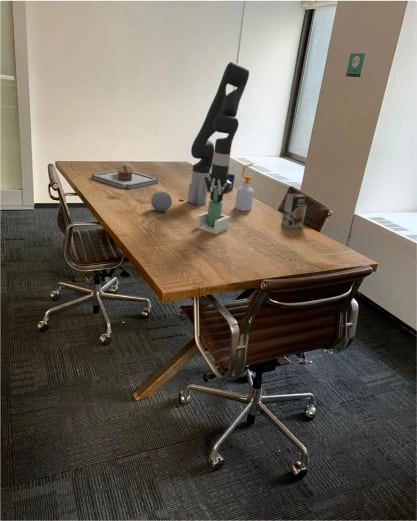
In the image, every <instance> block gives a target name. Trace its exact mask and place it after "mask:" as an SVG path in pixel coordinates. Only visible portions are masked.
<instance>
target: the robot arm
mask: <svg viewBox="0 0 417 521" xmlns="http://www.w3.org/2000/svg"><path fill="white" fill-rule="evenodd" d="M222 74H223V75H222V77H221V80H220V83H219V86H218V89H217V91H216V94H215V96H214V98H213V100H212V103H211V104H210V107H209V109H208V111H207V114H206V116H205V119H204V121H203V122H202V123H203V124H202V125H201V127H200V130H199V131H198V133H197V135H196V137H195V138H194V141H193V142H192V144H191V145H192V146H191V150H190V153H191V156H192V158H194V159H198V160H199V161H198V162H196V163H195V164H193V165H192V172H191V181H190V183H189V185H188V193H187V202H188V203H190V204H193V205H199V206H203V205H206V204H207V196H208V191H209V192H210V196H209V199H210V201H213V194H214V189H216V187H217V186H218V189H219V194H218V202H219V203H220V202H222V201H223V198H224V195H226V194H228V192H229V189H230V188H231V186H232V184H233V183H232V182H229V181H228V178H227V176H228V174H229V170H230V162H231V152H232V144H233V141H234V137H235V135H236V133H237V131H238V128H239V124H240V123H239V119H238V118H237V117H236V116H237V114H238V110H239V105H240V101H241V99H242V96H243V94H244V91H245V88H246V86H247V83H248V80H249V76H250V70H249V69H248V68H247V67H245V66H242V65H239V64H238V63H236V62H233V61H230V62H228V64H227V65H226V67H225V69H224V71H223V73H222ZM227 85H230V86H233V87H234V88H235V89H233V90H232V91H231V92H229V93H227ZM216 132H217V133H222V134H228V135H227V136H226V137H220V138H217V139H215V145H214V143H213V142H212V141H211V140H209V139H210V137H212V136H213V135H214V134H215V133H216ZM210 173H211V175H210V176H209V174H210ZM211 181H212V185H211ZM225 183H226V187H225V189H224V184H225ZM233 185H234V184H233Z"/></svg>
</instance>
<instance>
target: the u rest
mask: <svg viewBox="0 0 417 521" xmlns="http://www.w3.org/2000/svg"><path fill="white" fill-rule="evenodd" d="M207 215H208V211H206V212H203V213H199V214H198V215H197V216H196V217H197V218H196V224H195V228H196V229H200V230H201V231H206V232H208V233H211V234H215V235H218V234H220V233H222V232H225V231H226V230H228V229H229V226H230V220H231V216H229V215H226V214H222V213H221V217H220V219H218V220H216V221H215V225H209V224H207Z"/></svg>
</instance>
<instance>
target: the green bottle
mask: <svg viewBox="0 0 417 521" xmlns="http://www.w3.org/2000/svg"><path fill="white" fill-rule="evenodd" d="M218 194H219V189H214V194H213V201H212V200H209V202H208V209H207V212H208V215H207V224H209V225H215V221H216V220H218V219H220V217H221V214H222V210H223V209H222V208H223V202H222V201H221V202H220V203H219V202H218Z"/></svg>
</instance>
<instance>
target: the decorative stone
mask: <svg viewBox="0 0 417 521" xmlns="http://www.w3.org/2000/svg"><path fill="white" fill-rule="evenodd" d="M150 202H151V205H152V208H153V209H154V210H156V211H157V212H161V213H163V212H166V211H168V210H169V209H170V208H171V205H172V202H173V201H172V197H171V195H170V194H169V193H168V192H167V191H163V190H162V191H161V190H160V191H156V192H154V194H153V195H152V196H151V200H150Z"/></svg>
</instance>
